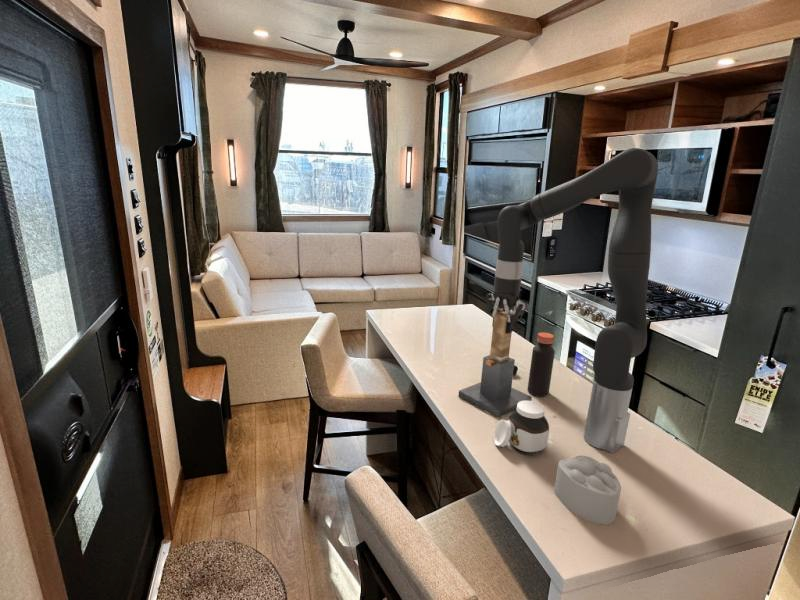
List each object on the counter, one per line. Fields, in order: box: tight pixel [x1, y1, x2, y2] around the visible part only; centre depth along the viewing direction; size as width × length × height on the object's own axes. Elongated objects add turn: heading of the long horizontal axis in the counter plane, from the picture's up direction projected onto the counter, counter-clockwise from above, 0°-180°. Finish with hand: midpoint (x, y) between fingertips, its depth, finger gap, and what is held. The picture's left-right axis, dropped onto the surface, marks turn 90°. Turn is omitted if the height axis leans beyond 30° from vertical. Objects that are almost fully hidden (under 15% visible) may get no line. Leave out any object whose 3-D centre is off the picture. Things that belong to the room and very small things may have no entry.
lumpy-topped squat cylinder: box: [553, 455, 622, 526], centre depth 97 cm, size 10×13×9 cm
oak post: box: [489, 311, 513, 363], centre depth 136 cm, size 4×4×20 cm
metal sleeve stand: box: [457, 354, 533, 419], centre depth 139 cm, size 16×16×14 cm
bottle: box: [527, 331, 556, 398], centre depth 145 cm, size 7×7×20 cm
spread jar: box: [493, 400, 550, 455], centre depth 116 cm, size 12×11×12 cm
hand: (502, 330), depth 135 cm, fingers closed on oak post, 4 cm apart
